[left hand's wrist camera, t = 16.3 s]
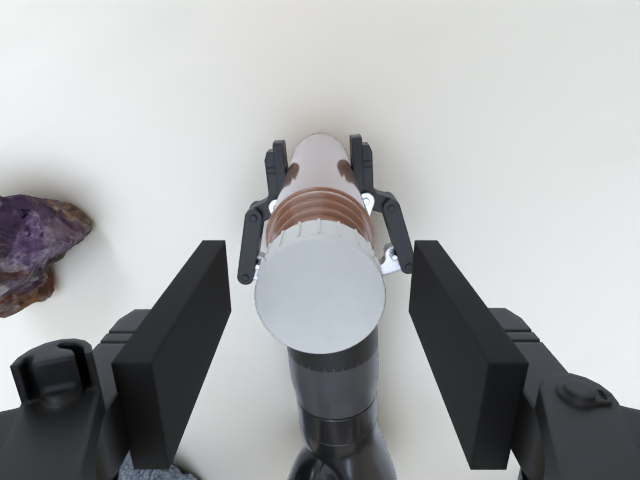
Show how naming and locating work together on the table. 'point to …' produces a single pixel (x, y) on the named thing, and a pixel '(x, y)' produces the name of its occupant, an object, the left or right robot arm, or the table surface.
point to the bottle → (320, 190)
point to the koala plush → (151, 472)
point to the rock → (34, 247)
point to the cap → (320, 287)
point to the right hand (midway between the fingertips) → (316, 139)
